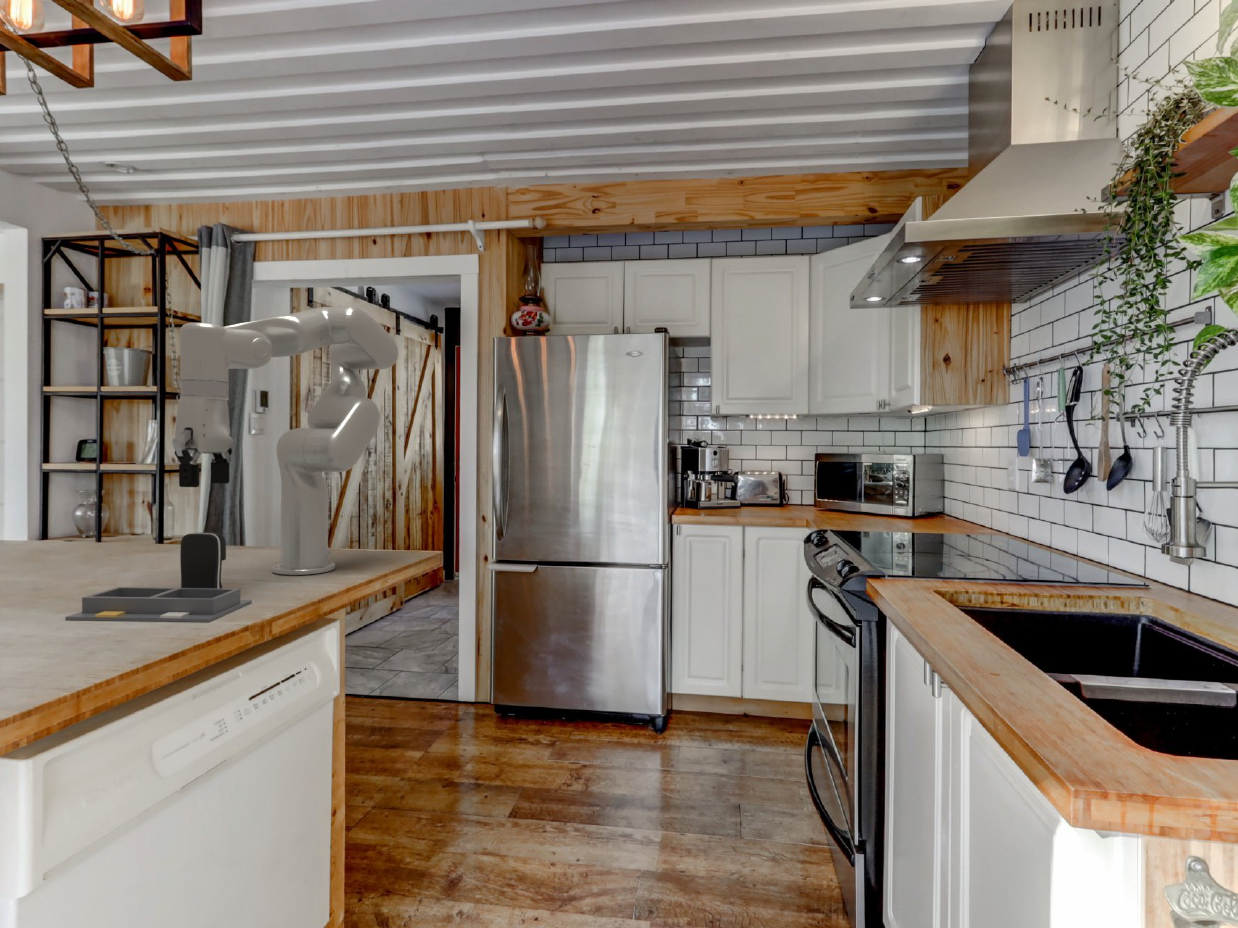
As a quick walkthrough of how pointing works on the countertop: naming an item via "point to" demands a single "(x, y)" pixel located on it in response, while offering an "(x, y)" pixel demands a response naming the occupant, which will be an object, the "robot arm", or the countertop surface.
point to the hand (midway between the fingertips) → (205, 484)
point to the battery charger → (202, 560)
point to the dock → (160, 604)
